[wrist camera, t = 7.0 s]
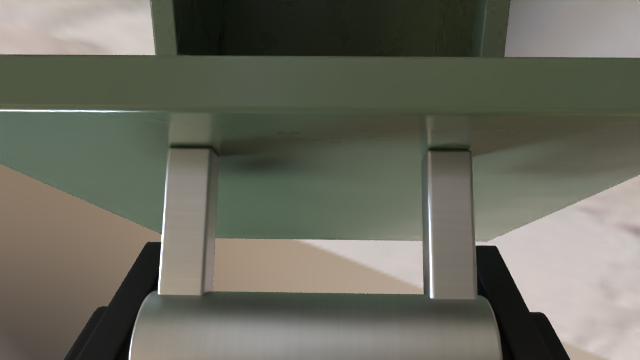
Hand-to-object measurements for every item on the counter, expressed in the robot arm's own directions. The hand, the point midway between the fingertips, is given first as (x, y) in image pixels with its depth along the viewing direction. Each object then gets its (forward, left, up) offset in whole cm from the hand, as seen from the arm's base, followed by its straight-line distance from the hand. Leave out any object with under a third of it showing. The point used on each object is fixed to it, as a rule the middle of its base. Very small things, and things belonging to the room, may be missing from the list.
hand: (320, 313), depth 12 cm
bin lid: (-1, 0, -4) cm, 4 cm away
